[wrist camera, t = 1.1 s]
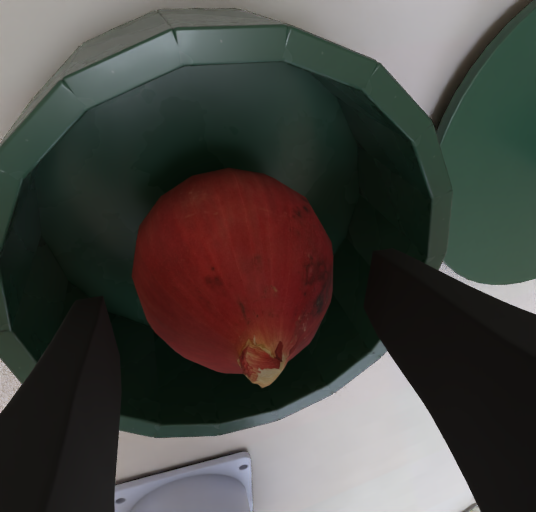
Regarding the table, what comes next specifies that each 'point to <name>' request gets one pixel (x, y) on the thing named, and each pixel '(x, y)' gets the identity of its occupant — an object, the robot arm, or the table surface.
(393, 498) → the table surface
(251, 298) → the onion
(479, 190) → the lid
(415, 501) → the table surface
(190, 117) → the pot
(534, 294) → the table surface
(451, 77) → the table surface
